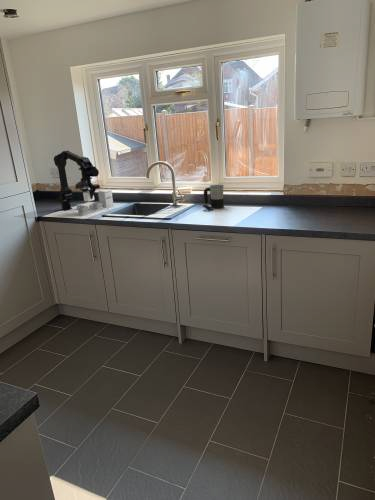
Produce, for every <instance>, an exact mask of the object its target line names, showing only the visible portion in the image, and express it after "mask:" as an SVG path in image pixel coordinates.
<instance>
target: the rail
mask: <svg viewBox="0 0 375 500" xmlns="http://www.w3.org/2000/svg"><path fill="white" fill-rule="evenodd" d="M91 204H92V205H93V209H89V205H84V206H80V207H78V210H77V211H78V212H76V216H81V217H82V216H86V215H90V214H93V213H96V212H101V211H103V210H106V209H105V207H103V204H102V202H99V201H94V202H93V203H91Z"/></svg>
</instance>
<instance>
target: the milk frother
mask: <svg viewBox="0 0 375 500" xmlns="http://www.w3.org/2000/svg"><path fill="white" fill-rule="evenodd" d="M224 186H225V185H224V184H212V185H209V187H205V189H204V191H203V199H204V204H203V205H202V207H203V209H206V210H207V211H213V210H214V209H217V210H218V209H224V208H225V204H224ZM208 191H209V195H208ZM208 197H209V198H208ZM209 199H210V200H209ZM209 201H210V202H209ZM208 204H209V205H208Z"/></svg>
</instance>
